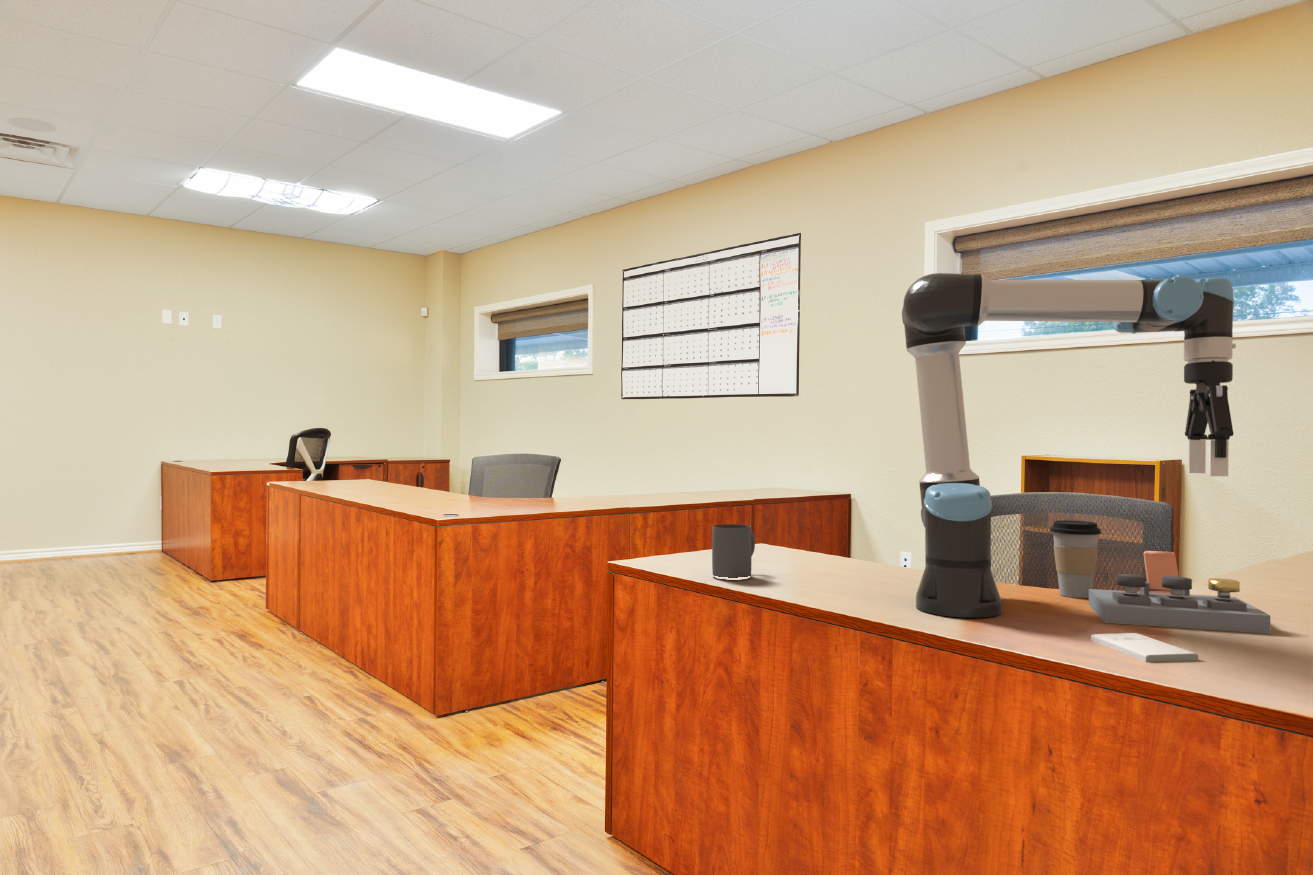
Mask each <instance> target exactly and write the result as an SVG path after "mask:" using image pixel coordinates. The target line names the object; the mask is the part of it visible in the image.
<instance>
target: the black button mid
mask: <svg viewBox="0 0 1313 875" xmlns="http://www.w3.org/2000/svg"><path fill="white" fill-rule="evenodd" d="M1162 587H1164V588H1169V589H1171V592H1170V593H1171V595H1175V596H1183V590H1192V589H1193V579H1192V578H1190V577H1185V576H1179V577H1177V576H1163V577H1162Z"/></svg>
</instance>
